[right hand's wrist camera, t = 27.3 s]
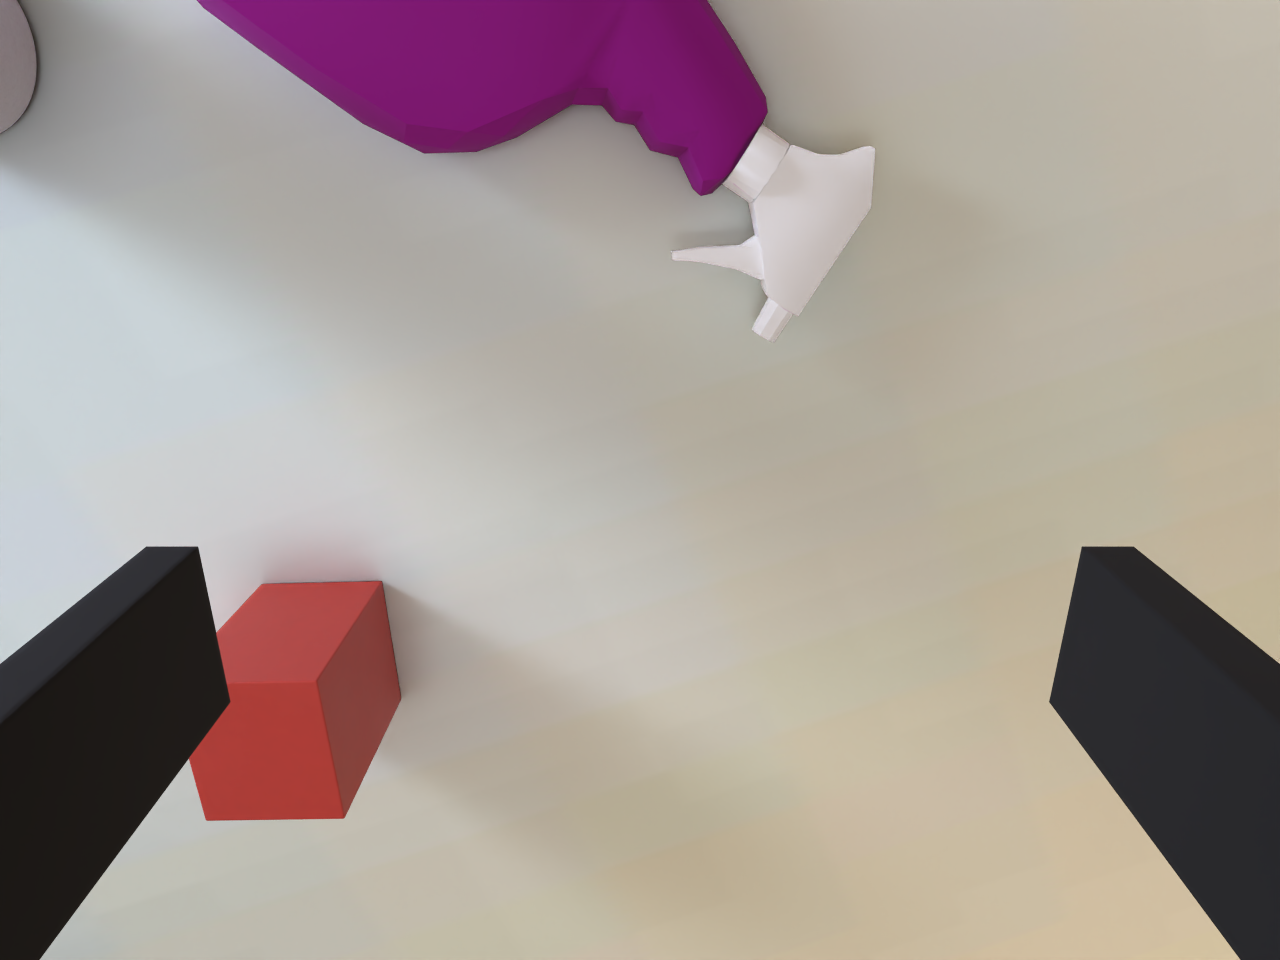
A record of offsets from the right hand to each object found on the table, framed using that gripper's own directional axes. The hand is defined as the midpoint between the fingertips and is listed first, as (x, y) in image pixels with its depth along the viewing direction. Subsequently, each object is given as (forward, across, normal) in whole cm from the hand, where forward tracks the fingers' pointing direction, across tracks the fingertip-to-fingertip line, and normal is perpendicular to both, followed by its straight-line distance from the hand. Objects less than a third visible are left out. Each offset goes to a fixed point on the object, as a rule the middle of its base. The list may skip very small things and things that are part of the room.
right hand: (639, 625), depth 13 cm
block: (+22, -14, -14) cm, 30 cm away
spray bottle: (+22, -3, +10) cm, 24 cm away
